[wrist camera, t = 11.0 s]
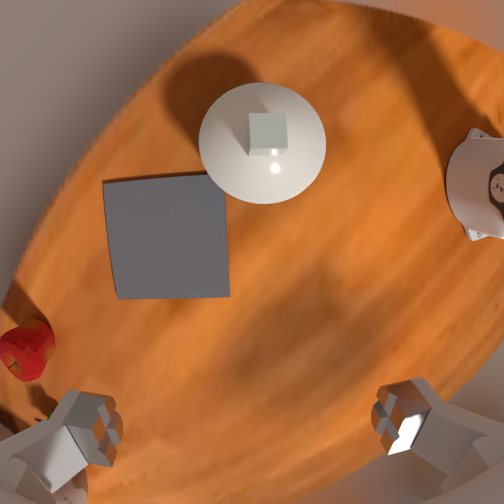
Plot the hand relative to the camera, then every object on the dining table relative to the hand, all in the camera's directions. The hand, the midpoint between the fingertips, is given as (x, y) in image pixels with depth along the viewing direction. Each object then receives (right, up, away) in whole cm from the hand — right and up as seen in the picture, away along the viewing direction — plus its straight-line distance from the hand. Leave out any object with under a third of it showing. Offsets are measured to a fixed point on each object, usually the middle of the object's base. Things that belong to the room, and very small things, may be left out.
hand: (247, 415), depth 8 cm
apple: (-36, -9, +33) cm, 50 cm away
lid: (+1, +15, +20) cm, 25 cm away
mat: (-11, +6, +30) cm, 33 cm away
